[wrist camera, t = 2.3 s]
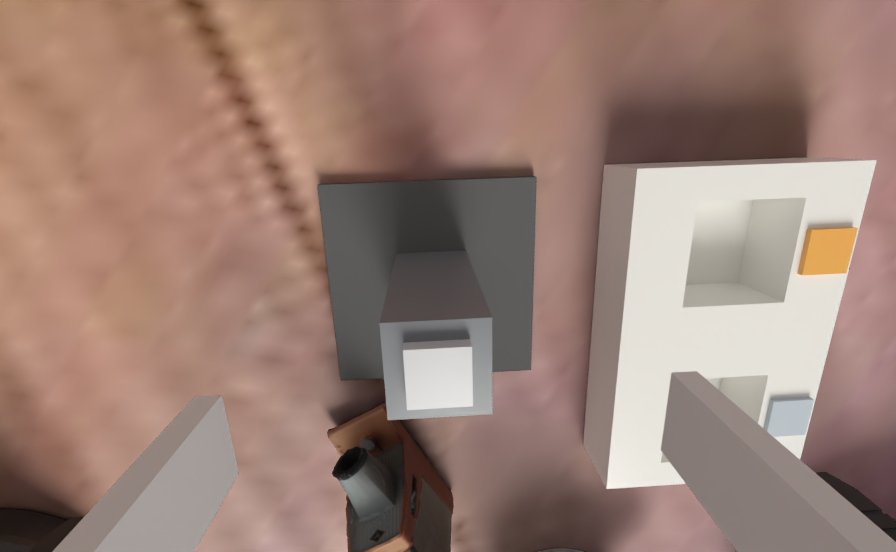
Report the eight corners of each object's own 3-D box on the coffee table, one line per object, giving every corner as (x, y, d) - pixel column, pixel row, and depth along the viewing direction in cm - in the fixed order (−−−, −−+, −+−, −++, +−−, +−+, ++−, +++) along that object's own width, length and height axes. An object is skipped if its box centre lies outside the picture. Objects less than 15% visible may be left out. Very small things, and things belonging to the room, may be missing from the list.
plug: (400, 317, 26) (386, 430, 16) (396, 253, 25) (377, 330, 15) (467, 314, 26) (495, 423, 16) (465, 250, 25) (495, 324, 15)
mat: (342, 375, 27) (340, 380, 27) (319, 184, 24) (317, 185, 23) (528, 365, 28) (530, 369, 27) (533, 176, 24) (536, 177, 24)
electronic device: (385, 392, 28) (373, 479, 21) (456, 492, 31) (466, 599, 24) (328, 421, 29) (296, 517, 21) (403, 517, 31) (397, 630, 24)
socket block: (583, 445, 30) (608, 493, 26) (603, 164, 24) (640, 169, 20) (749, 434, 31) (799, 479, 26) (807, 157, 25) (882, 160, 21)
